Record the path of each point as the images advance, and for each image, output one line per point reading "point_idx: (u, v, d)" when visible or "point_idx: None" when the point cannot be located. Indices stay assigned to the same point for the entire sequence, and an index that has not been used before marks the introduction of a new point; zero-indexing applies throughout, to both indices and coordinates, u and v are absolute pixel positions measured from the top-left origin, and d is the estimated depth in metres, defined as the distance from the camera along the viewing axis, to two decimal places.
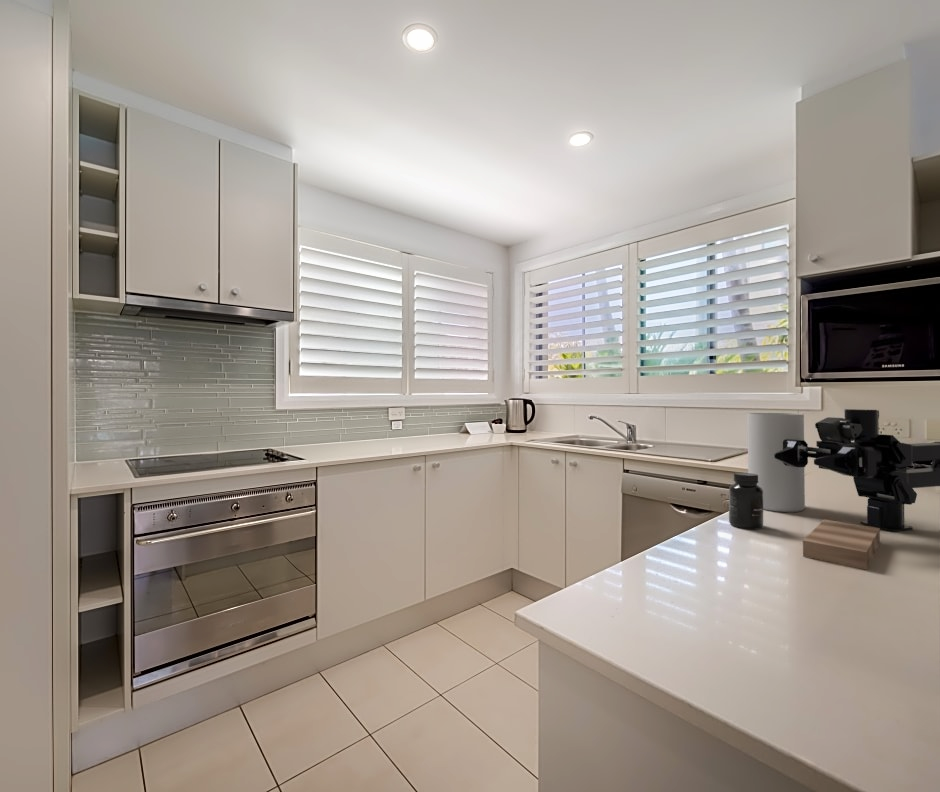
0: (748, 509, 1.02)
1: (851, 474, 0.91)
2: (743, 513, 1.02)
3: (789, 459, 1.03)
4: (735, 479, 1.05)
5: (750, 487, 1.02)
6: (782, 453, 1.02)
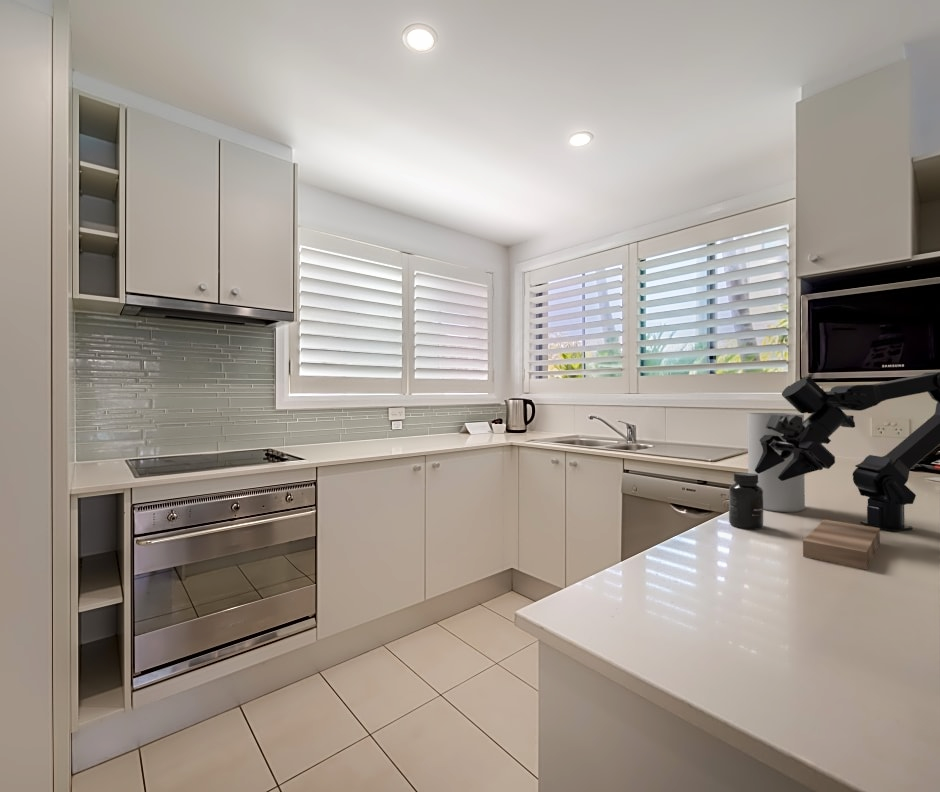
0: (748, 509, 1.02)
1: (817, 469, 0.97)
2: (743, 513, 1.02)
3: (772, 462, 1.09)
4: (735, 479, 1.05)
5: (750, 487, 1.02)
6: (760, 465, 1.09)
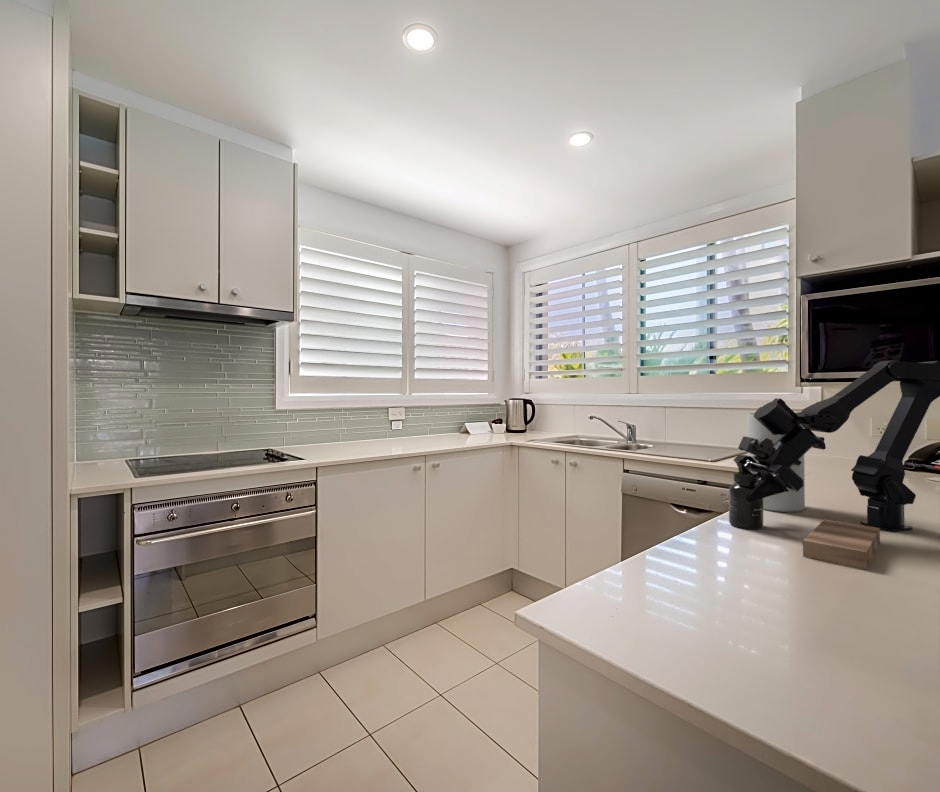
0: (748, 509, 1.02)
1: (783, 491, 0.99)
2: (743, 513, 1.02)
3: None
4: (735, 479, 1.05)
5: (750, 487, 1.02)
6: None
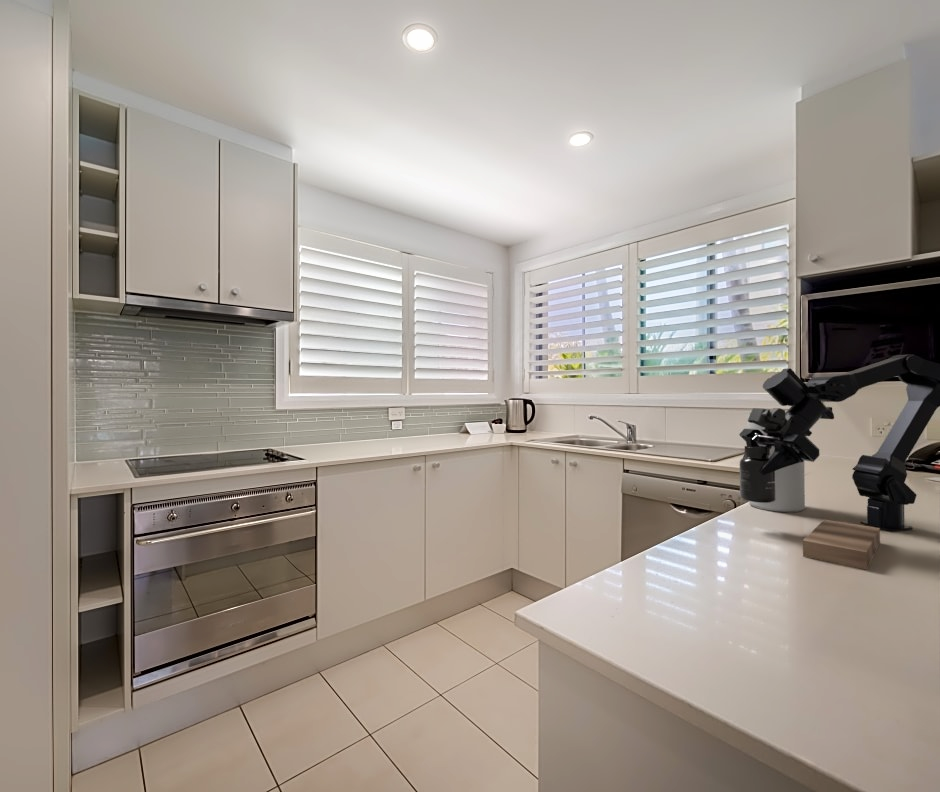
0: (761, 482, 0.99)
1: (797, 461, 0.96)
2: (756, 486, 0.99)
3: None
4: (746, 452, 1.02)
5: (763, 459, 0.99)
6: None
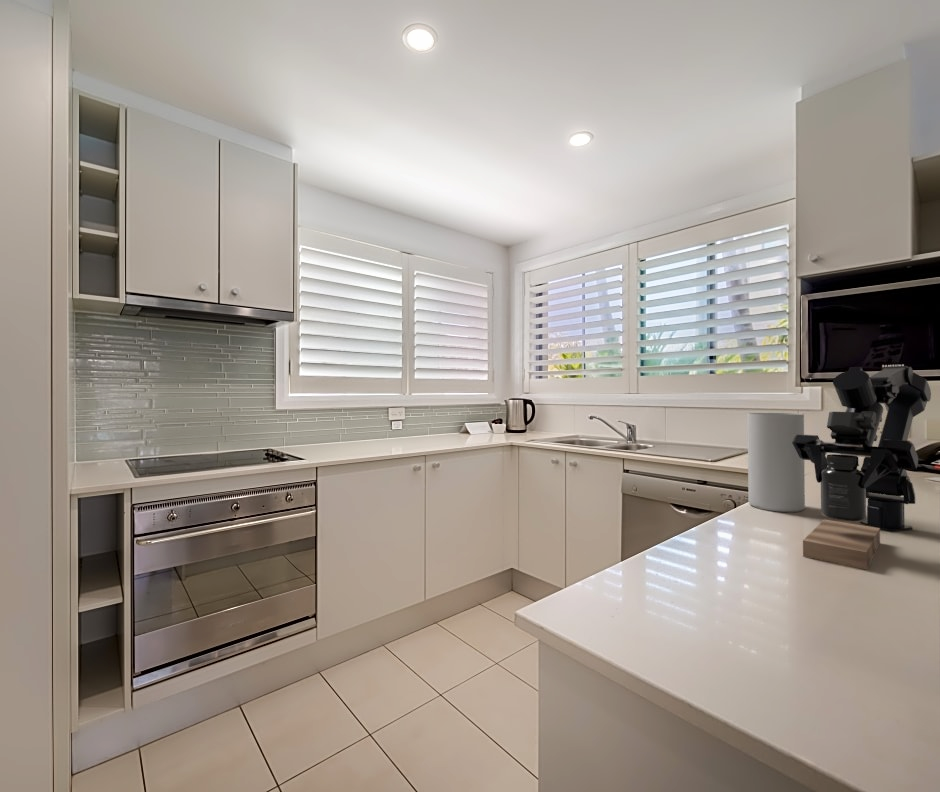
0: (861, 497, 0.85)
1: (890, 470, 0.86)
2: (857, 503, 0.85)
3: (823, 467, 0.93)
4: (838, 463, 0.87)
5: (857, 470, 0.86)
6: (820, 472, 0.91)
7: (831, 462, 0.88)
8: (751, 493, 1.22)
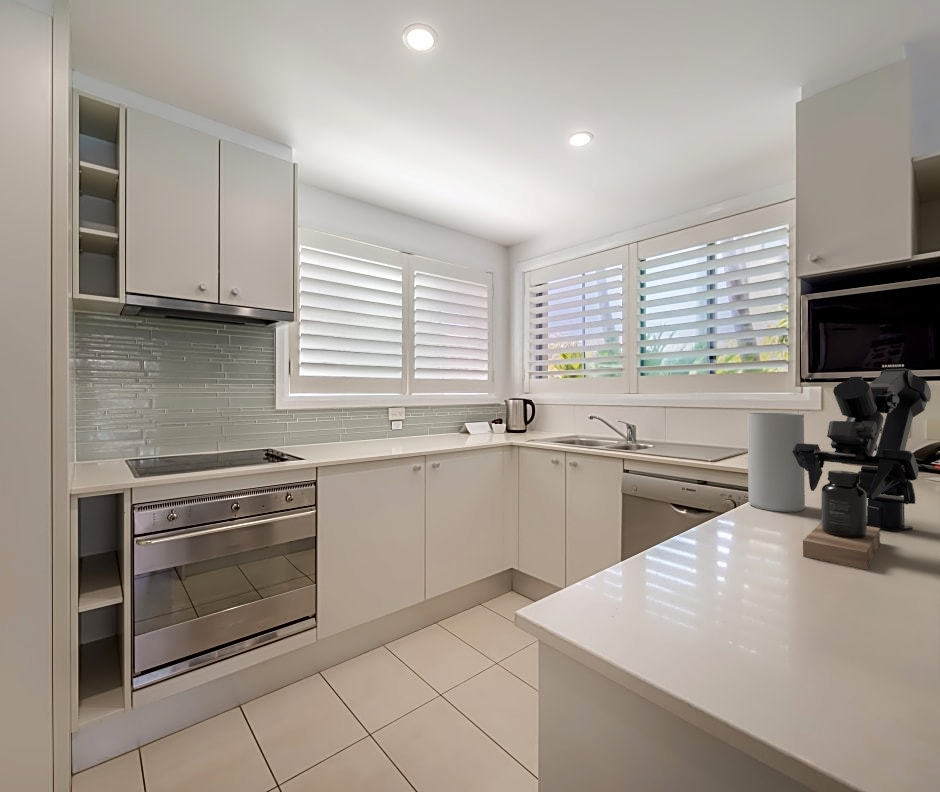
0: (862, 514, 0.85)
1: (898, 481, 0.85)
2: (857, 520, 0.85)
3: (817, 475, 0.94)
4: (839, 480, 0.87)
5: (859, 487, 0.86)
6: (814, 480, 0.92)
7: (832, 478, 0.88)
8: (751, 493, 1.22)
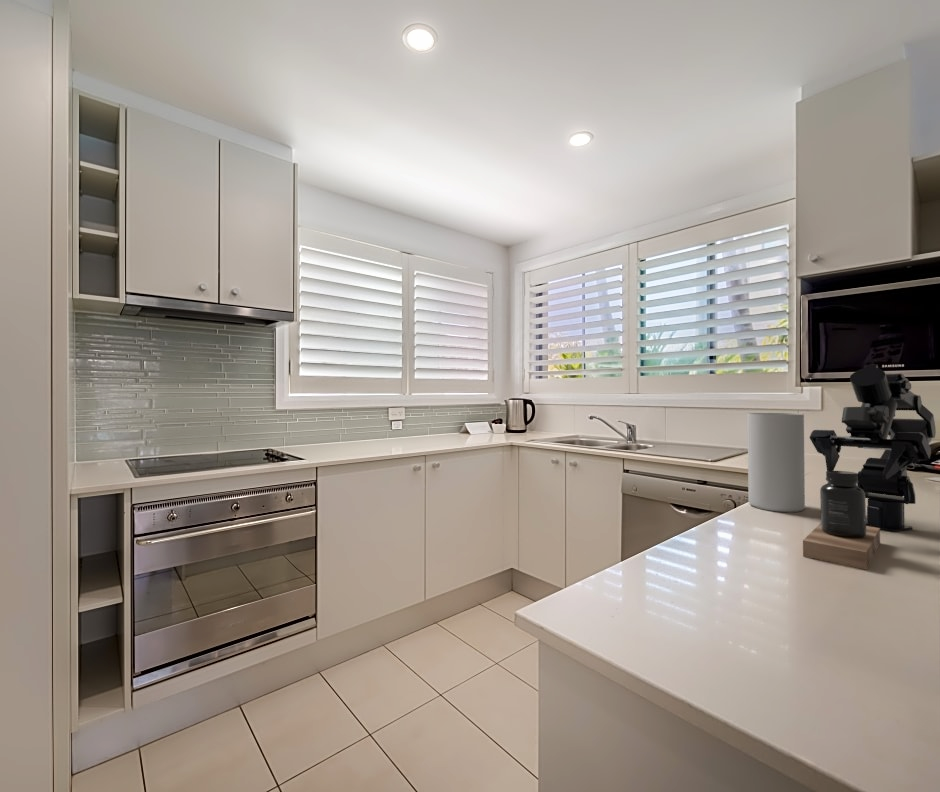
0: (861, 514, 0.85)
1: (912, 462, 0.90)
2: (857, 520, 0.85)
3: (834, 460, 0.99)
4: (837, 480, 0.87)
5: (857, 487, 0.86)
6: (831, 464, 0.97)
7: (831, 478, 0.88)
8: (751, 493, 1.22)
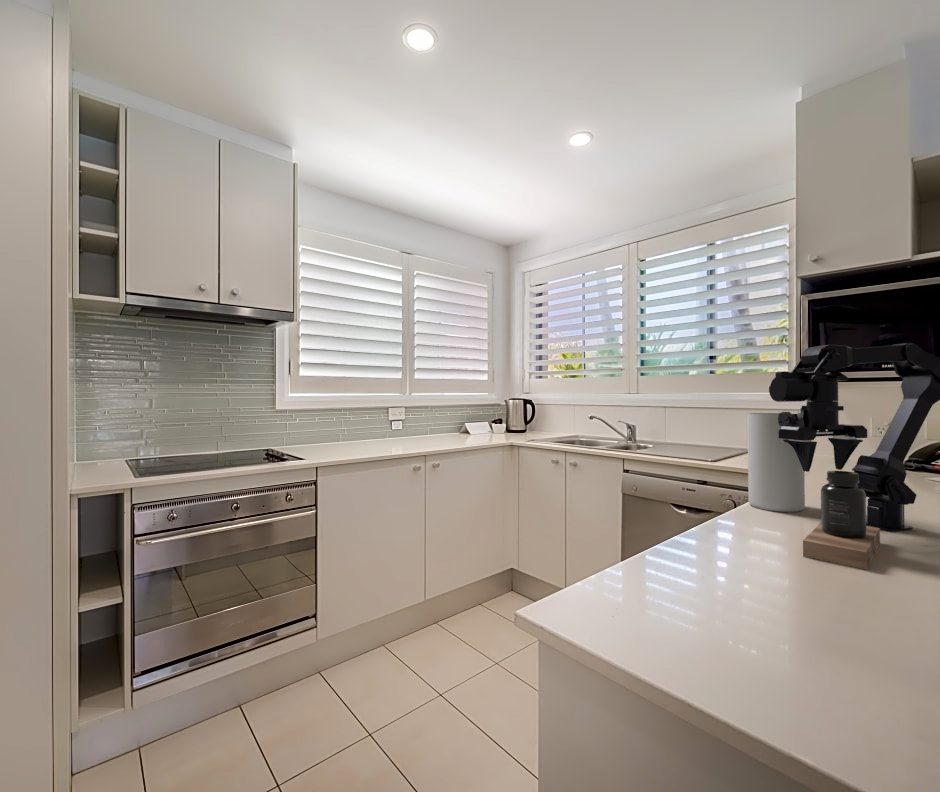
0: (861, 514, 0.85)
1: (808, 444, 0.98)
2: (857, 520, 0.85)
3: (844, 451, 1.02)
4: (838, 480, 0.87)
5: (858, 487, 0.86)
6: (836, 460, 1.04)
7: (832, 479, 0.88)
8: (751, 493, 1.22)
